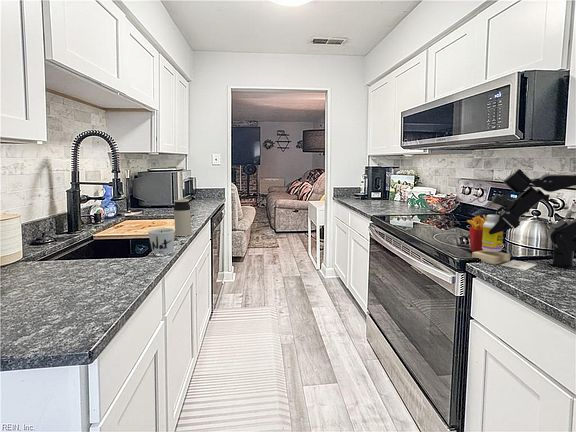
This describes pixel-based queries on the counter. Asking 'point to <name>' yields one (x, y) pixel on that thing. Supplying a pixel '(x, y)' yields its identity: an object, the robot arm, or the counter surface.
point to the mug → (162, 240)
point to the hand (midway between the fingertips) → (488, 231)
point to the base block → (491, 256)
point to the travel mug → (182, 217)
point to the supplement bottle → (491, 235)
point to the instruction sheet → (519, 264)
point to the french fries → (476, 233)
